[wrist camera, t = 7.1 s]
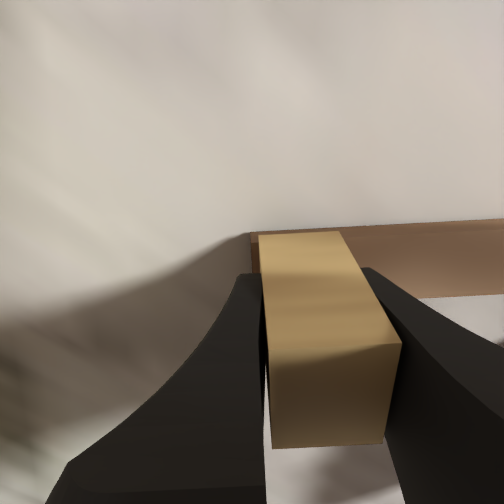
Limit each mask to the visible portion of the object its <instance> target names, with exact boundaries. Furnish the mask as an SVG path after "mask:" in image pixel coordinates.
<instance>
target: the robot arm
mask: <svg viewBox="0 0 504 504" xmlns="http://www.w3.org/2000/svg"><path fill="white" fill-rule="evenodd" d="M360 269H361V271H362V273H363V275H364V276H365V278H366V280H367V282H368V283H369V285H370V287H371V289H372V290H373V292H374V294H375V296H376V298H377V299H378V301H379V303H380V305H381V306H382V308H383V310H384V312H385V313H386V315H387V317H388V319H389V320H390V322H391V324H392V326H393V327H394V329H395V331H396V333H397V335H398V336H399V338H400V340H401V342H402V346H401V351H400V356H399V362H398V367H397V372H396V377H395V382H394V387H393V392H392V397H391V402H390V407H389V412H388V417H387V422H386V427H385V432H384V435H385V438H386V441H387V444H388V447H389V450H390V454H391V457H392V460H393V463H394V467H395V470H396V473H397V476H398V480H399V483H400V487H401V490H402V494H403V497H404V501H405V504H504V348H502V347H500V346H498V345H496V344H494V343H492V342H490V341H488V340H486V339H484V338H482V337H480V336H478V335H476V334H474V333H473V332H471V331H469V330H467V329H465V328H463V327H462V326H460V325H458V324H456V323H455V322H453V321H451V320H450V319H448V318H446V317H445V316H443V315H441V314H440V313H438V312H436V311H435V310H433V309H432V308H430V307H428V306H427V305H425V304H424V303H422V302H421V301H419V300H418V299H416V298H415V297H413V296H412V295H410V294H409V293H407V292H406V291H404V290H403V289H401V288H400V287H398V286H397V285H396V284H394V283H393V282H391V281H390V280H388V279H387V278H386V277H384V276H383V275H381V274H380V273H378V272H377V271H375V270H373V269H372V268H370V267H364V268H360ZM265 366H266V358H265V333H264V309H263V285H262V277H261V273H251V274H240V275H239V276H238V277H237V279H236V282H235V285H234V287H233V290H232V292H231V294H230V296H229V298H228V300H227V302H226V304H225V305H224V307H223V309H222V311H221V313H220V314H219V316H218V318H217V319H216V321H215V322H214V324H213V325H212V327H211V328H210V330H209V331H208V333H207V334H206V336H205V337H204V339H203V340H202V341H201V343H200V344H199V345H198V347H197V348H196V349H195V350H194V352H193V353H192V354H191V355H190V357H189V358H188V359H187V360H186V361H185V362H184V364H183V365H182V366H181V367H180V368H179V369H178V370H177V371H176V372H175V373H174V374H173V376H172V377H171V378H170V379H169V380H168V381H167V382H166V383H165V384H164V385H163V386H162V387H161V388H160V389H159V390H158V391H157V392H156V393H155V394H154V395H153V396H151V397H150V398H149V399H148V400H147V401H146V402H145V403H144V404H142V405H141V406H140V407H139V408H138V409H137V410H136V411H135V412H134V413H132V414H131V415H130V416H129V417H128V418H127V419H126V420H124V421H123V422H122V423H121V424H119V425H118V426H117V427H116V428H114V429H113V430H112V431H110V432H109V433H108V434H106V435H105V436H104V437H102V438H101V439H100V440H98V441H97V442H96V443H94V444H93V445H92V446H90V447H89V448H87V449H86V450H85V451H83V452H82V453H81V454H79V455H78V456H77V457H75V458H74V459H72V460H71V461H69V462H68V463H67V465H66V467H65V469H64V471H63V472H62V474H61V476H60V478H59V480H58V481H57V483H56V485H55V486H54V488H53V490H52V492H51V493H50V495H49V497H48V499H47V501H46V503H45V504H267V502H266V483H265V464H264V446H263V427H264V397H265Z"/></svg>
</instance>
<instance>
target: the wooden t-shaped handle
mask: <svg viewBox="0 0 504 504" xmlns="http://www.w3.org/2000/svg"><path fill="white" fill-rule="evenodd" d="M250 236H251V256H252V273H261V277H262V285H263V309H264V333H265V358H266V375H267V388H268V402H269V415H270V428H271V442H272V449H287V448H307V447H326V446H345V445H365V444H382V443H383V437H384V432H385V427H386V422H387V417H388V412H389V407H390V402H391V397H392V392H393V387H394V382H395V377H396V372H397V367H398V362H399V356H400V351H401V346H402V342H401V340H400V338H399V336H398V335H397V333H396V331H395V329H394V327H393V326H392V324H391V322H390V320H389V319H388V317H387V315H386V313H385V312H384V310H383V308H382V306H381V305H380V303H379V301H378V299H377V298H376V296H375V294H374V292H373V290H372V289H371V287H370V285H369V283H368V282H367V280H366V278H365V276H364V275H363V273H362V271H361V269H360V268H364V267H370V268H372V269H373V270H375V271H377V272H378V273H380V274H381V275H383V276H384V277H386V278H387V279H388V280H390V281H391V282H393V283H394V284H396V285H397V286H398V287H400V288H401V289H403V290H404V291H406V292H407V293H409V294H410V295H412V296H413V297H415V298H416V299H419V298H438V297H457V296H476V295H495V294H504V219H488V220H469V221H451V222H432V223H413V224H394V225H375V226H356V227H338V228H319V229H300V230H281V231H262V232H250Z"/></svg>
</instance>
